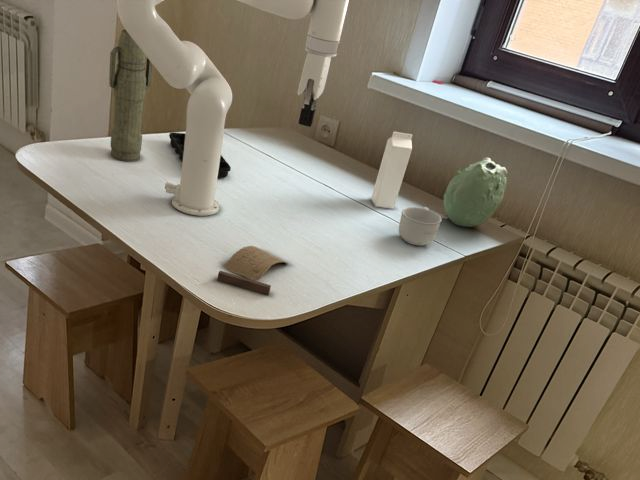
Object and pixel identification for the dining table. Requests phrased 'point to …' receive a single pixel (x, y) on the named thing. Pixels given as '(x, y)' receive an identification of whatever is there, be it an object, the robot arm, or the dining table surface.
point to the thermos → (128, 97)
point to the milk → (392, 170)
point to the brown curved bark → (251, 262)
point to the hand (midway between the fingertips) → (305, 124)
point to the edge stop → (244, 282)
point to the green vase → (475, 193)
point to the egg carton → (178, 145)
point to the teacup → (419, 225)
